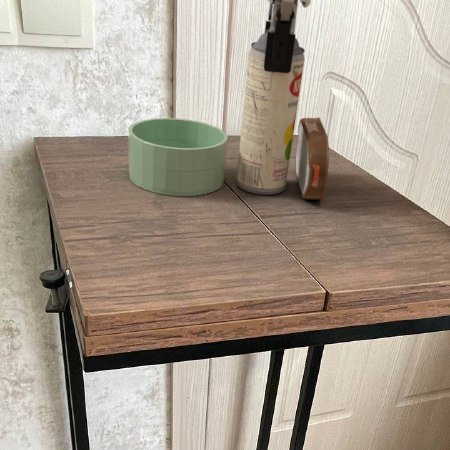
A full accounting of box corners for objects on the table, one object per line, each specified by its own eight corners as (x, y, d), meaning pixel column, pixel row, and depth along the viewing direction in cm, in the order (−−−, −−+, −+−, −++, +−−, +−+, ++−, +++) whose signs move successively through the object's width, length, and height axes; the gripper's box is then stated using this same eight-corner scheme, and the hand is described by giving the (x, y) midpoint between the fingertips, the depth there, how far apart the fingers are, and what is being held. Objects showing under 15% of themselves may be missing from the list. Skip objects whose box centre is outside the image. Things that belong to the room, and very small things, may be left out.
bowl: (224, 166, 92) (228, 123, 88) (222, 200, 81) (226, 153, 78) (135, 157, 91) (135, 114, 87) (122, 190, 81) (121, 143, 77)
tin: (323, 210, 82) (336, 144, 77) (299, 208, 82) (311, 142, 76) (310, 170, 94) (320, 110, 88) (289, 168, 93) (298, 108, 88)
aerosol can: (284, 197, 84) (310, 25, 71) (234, 191, 84) (251, 18, 71) (285, 179, 89) (309, 16, 77) (238, 173, 89) (254, 10, 77)
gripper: (344, -121, 59) (311, 84, 71) (326, -119, 73) (301, 53, 84) (265, -130, 59) (245, 78, 70) (261, -126, 73) (245, 48, 84)
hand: (275, 63), depth 77 cm, fingers closed on aerosol can, 6 cm apart
